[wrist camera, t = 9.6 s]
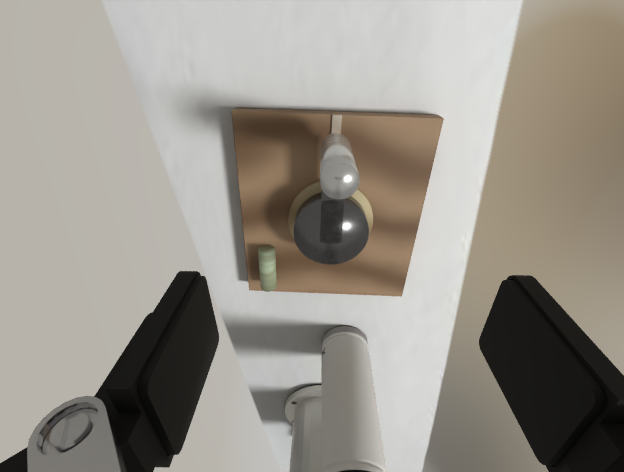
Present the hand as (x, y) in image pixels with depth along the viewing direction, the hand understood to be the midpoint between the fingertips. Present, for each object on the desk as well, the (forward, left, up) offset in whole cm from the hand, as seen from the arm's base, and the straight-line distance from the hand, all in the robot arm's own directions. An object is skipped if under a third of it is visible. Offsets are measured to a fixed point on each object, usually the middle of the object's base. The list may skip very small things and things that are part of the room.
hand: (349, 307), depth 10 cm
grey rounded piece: (-5, 0, -20) cm, 20 cm away
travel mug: (-28, -3, -22) cm, 36 cm away
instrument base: (-8, 0, -22) cm, 24 cm away
